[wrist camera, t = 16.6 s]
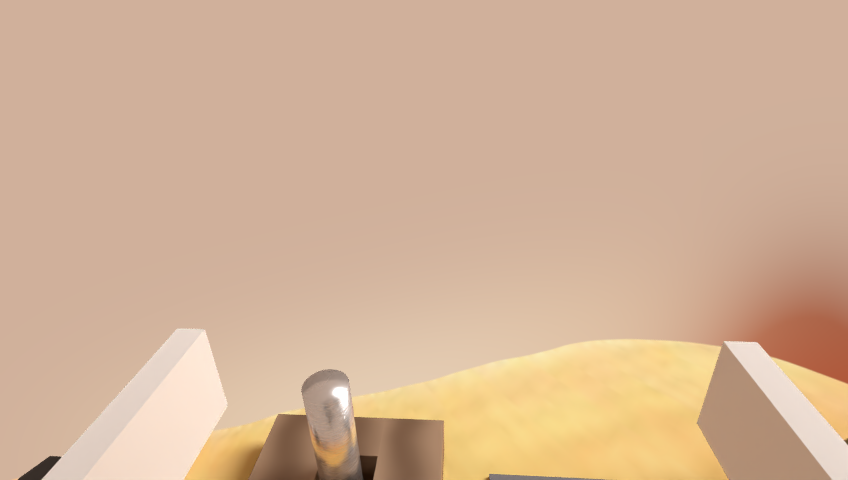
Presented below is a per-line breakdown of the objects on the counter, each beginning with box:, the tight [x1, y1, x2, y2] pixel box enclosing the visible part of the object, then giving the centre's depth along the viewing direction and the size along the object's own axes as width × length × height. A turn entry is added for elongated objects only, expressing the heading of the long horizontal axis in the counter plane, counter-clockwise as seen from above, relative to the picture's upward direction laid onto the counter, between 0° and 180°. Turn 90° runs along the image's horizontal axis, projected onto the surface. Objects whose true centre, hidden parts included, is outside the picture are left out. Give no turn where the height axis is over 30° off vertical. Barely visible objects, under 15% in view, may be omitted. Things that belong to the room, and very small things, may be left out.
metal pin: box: [302, 369, 363, 480], centre depth 39 cm, size 4×4×15 cm
